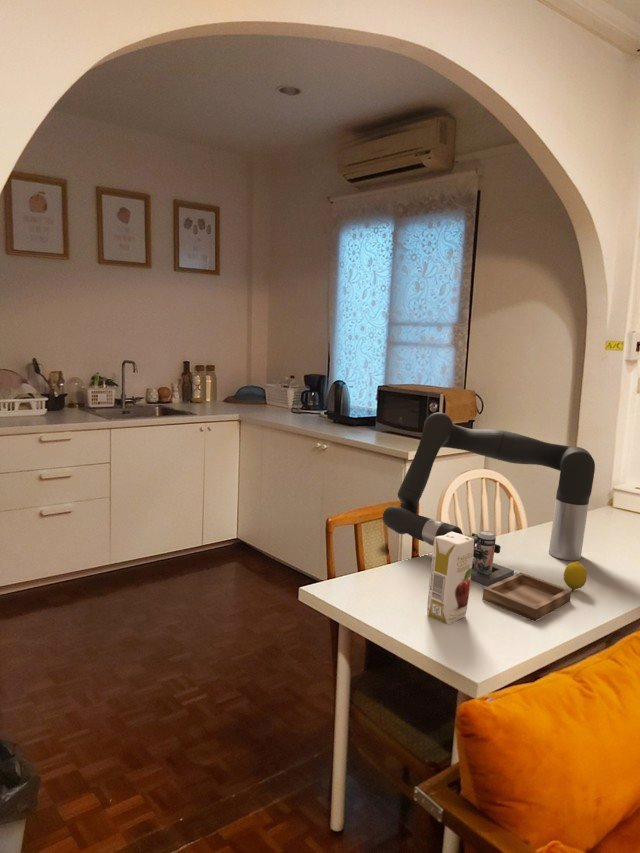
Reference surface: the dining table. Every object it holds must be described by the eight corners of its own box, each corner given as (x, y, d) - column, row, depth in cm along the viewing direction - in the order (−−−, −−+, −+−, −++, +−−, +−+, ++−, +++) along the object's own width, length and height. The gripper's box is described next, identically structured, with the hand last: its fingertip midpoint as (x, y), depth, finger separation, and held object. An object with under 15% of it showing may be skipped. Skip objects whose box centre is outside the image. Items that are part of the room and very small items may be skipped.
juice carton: (421, 614, 144) (429, 536, 141) (443, 605, 150) (451, 529, 147) (449, 627, 139) (458, 546, 136) (470, 616, 145) (479, 538, 142)
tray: (519, 582, 167) (520, 572, 166) (570, 602, 157) (571, 590, 156) (482, 599, 155) (483, 588, 154) (534, 621, 145) (535, 609, 144)
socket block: (475, 563, 179) (476, 556, 179) (513, 577, 170) (514, 570, 170) (451, 572, 171) (451, 565, 170) (489, 587, 162) (490, 580, 162)
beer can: (473, 576, 169) (478, 534, 167) (473, 570, 173) (477, 529, 171) (491, 579, 168) (496, 537, 166) (490, 573, 172) (495, 531, 170)
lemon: (582, 588, 166) (586, 559, 165) (585, 596, 161) (589, 566, 160) (560, 584, 168) (564, 556, 166) (563, 592, 162) (567, 563, 161)
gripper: (427, 527, 174) (478, 544, 163) (457, 518, 184) (507, 534, 172) (425, 552, 175) (474, 571, 164) (455, 543, 185) (503, 560, 173)
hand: (491, 552), depth 168 cm, fingers open, 8 cm apart
